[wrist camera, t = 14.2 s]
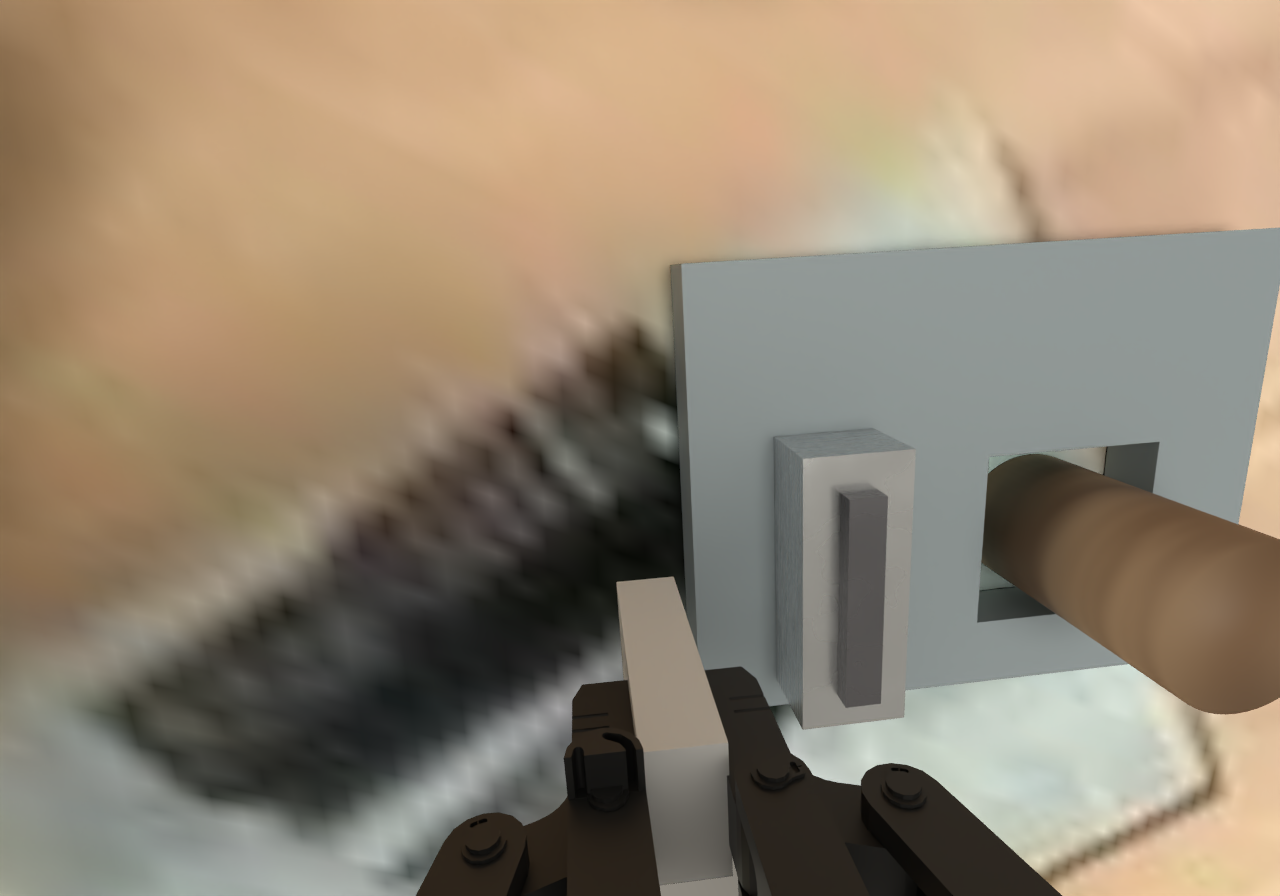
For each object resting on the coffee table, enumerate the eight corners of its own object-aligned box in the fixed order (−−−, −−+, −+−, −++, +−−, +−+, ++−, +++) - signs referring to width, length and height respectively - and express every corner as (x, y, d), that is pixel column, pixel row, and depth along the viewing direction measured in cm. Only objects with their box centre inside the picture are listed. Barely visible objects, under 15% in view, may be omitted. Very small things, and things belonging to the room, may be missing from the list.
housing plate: (689, 678, 24) (700, 714, 22) (670, 265, 20) (681, 263, 18) (1166, 624, 25) (1215, 653, 23) (1224, 231, 22) (1289, 227, 20)
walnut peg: (961, 580, 24) (1150, 725, 16) (968, 460, 23) (1174, 553, 15) (1078, 567, 24) (1319, 702, 16) (1090, 448, 23) (1354, 533, 15)
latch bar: (776, 679, 21) (809, 743, 19) (774, 436, 20) (811, 465, 17) (867, 668, 22) (914, 730, 19) (873, 428, 20) (927, 454, 17)
